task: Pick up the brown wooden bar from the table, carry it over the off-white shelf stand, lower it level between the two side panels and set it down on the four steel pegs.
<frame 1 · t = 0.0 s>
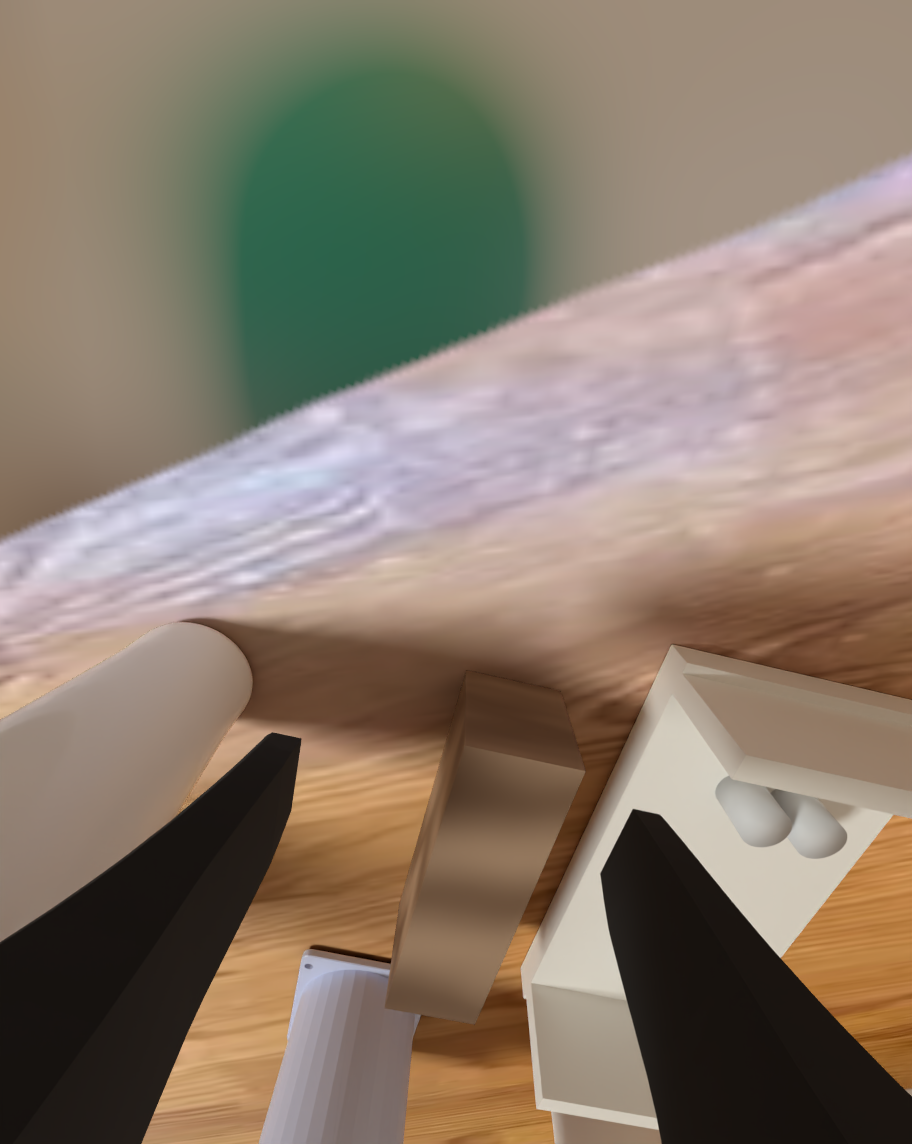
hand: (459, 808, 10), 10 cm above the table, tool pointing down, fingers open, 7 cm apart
cylindrical container: (598, 1060, 31), on the table
shelf stand: (692, 856, 24), on the table
brown wooden bar: (470, 805, 23), on the table
drinking glass: (202, 666, 21), on the table
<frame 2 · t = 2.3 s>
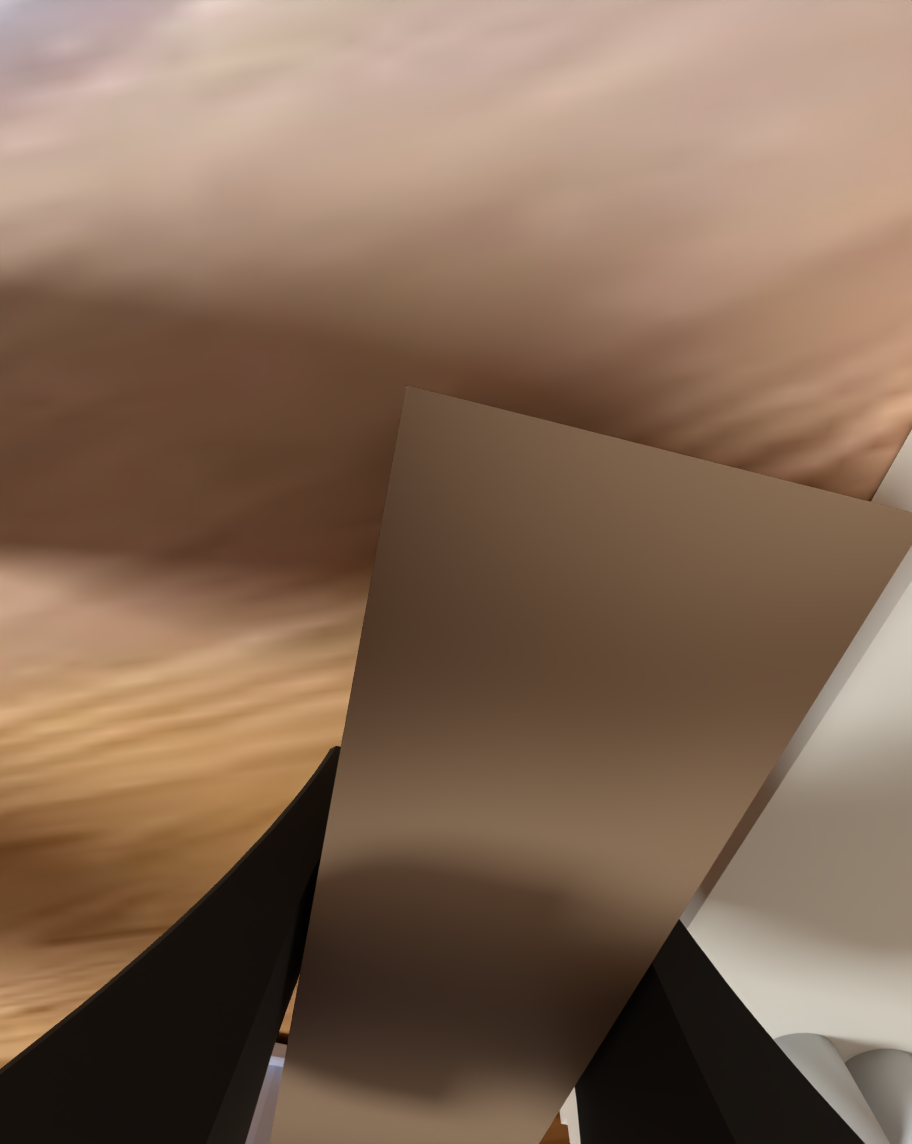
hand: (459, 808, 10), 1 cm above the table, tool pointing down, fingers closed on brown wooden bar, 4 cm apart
brown wooden bar: (459, 758, 11), on the table, touching gripper
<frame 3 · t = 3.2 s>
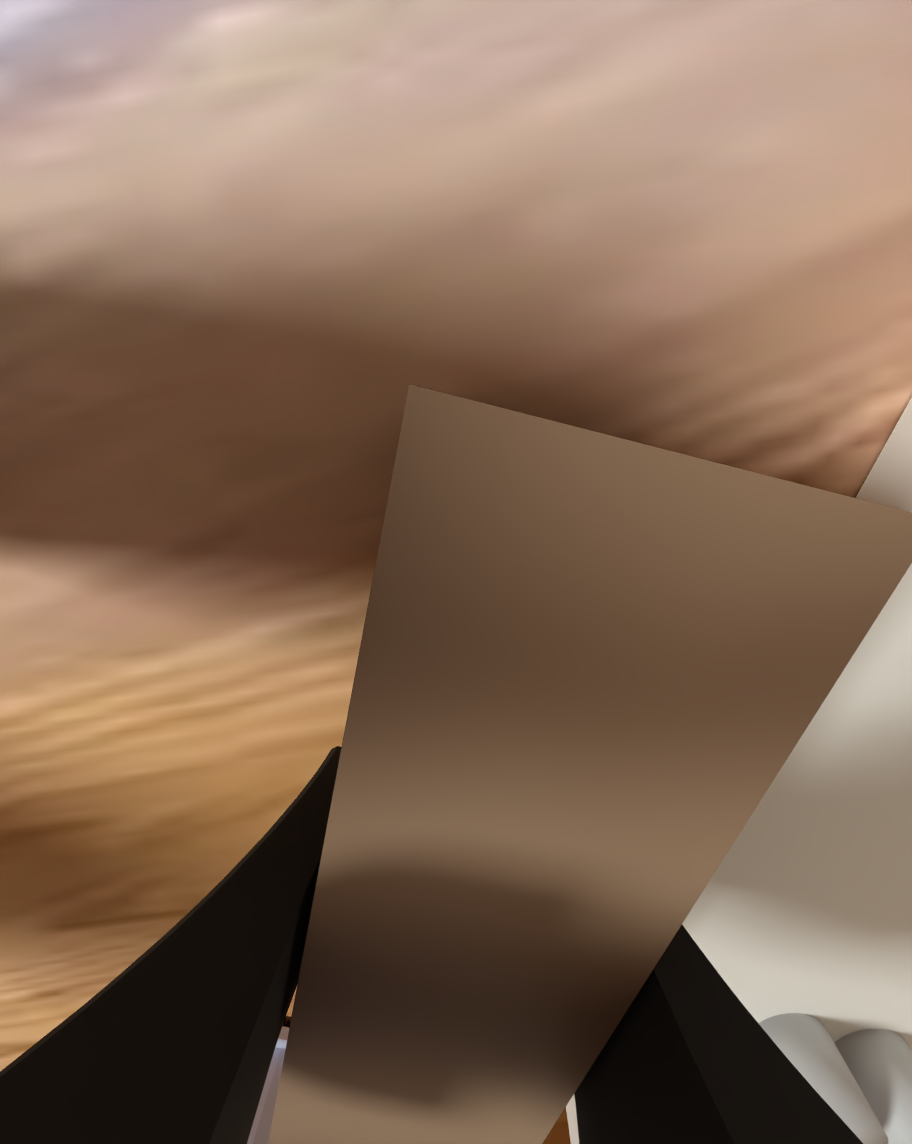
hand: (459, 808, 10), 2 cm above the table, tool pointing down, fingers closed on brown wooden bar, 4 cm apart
shelf stand: (903, 842, 12), on the table
brown wooden bar: (459, 760, 11), on the table, touching gripper
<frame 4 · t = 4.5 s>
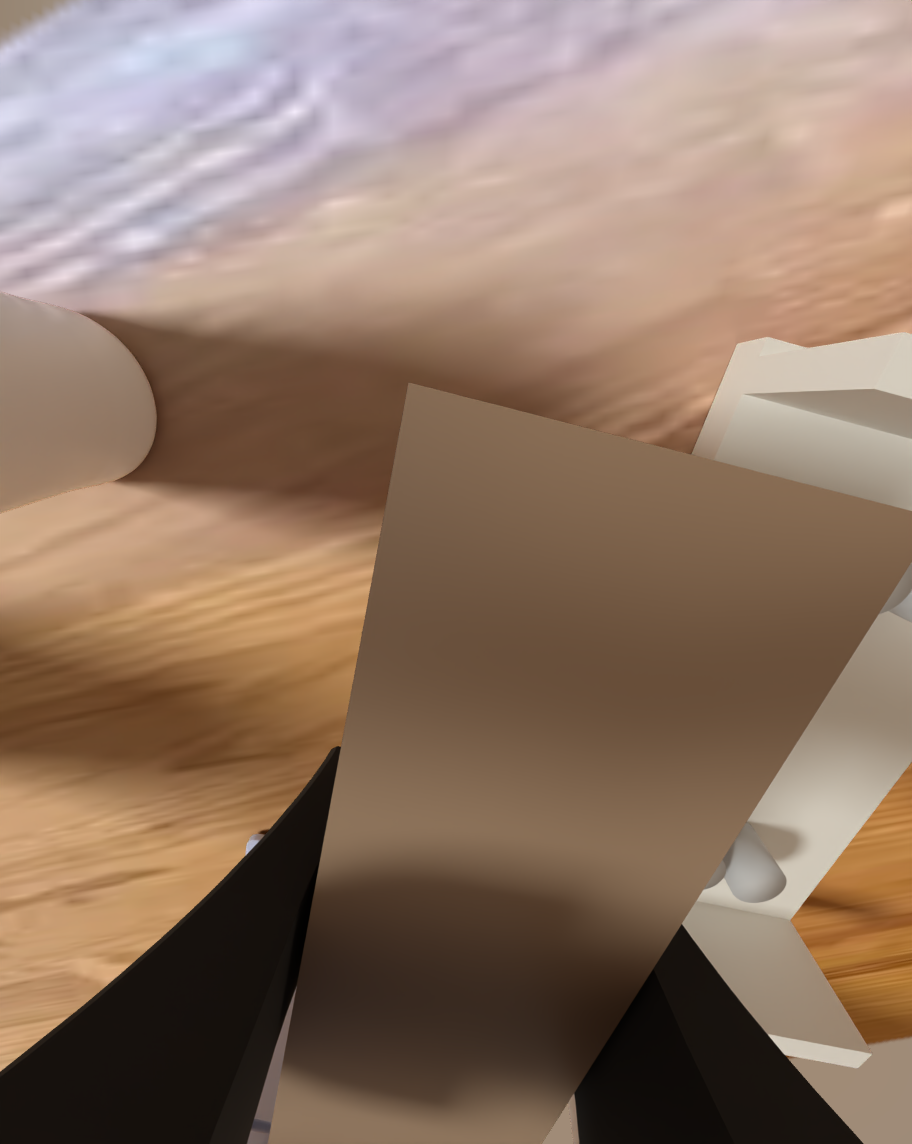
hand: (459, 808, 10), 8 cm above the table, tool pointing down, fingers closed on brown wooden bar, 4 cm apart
cylindrical container: (616, 987, 25), on the table
shelf stand: (748, 692, 18), on the table
brown wooden bar: (459, 759, 11), point 7 cm above the table, touching gripper
drinking glass: (91, 400, 15), on the table
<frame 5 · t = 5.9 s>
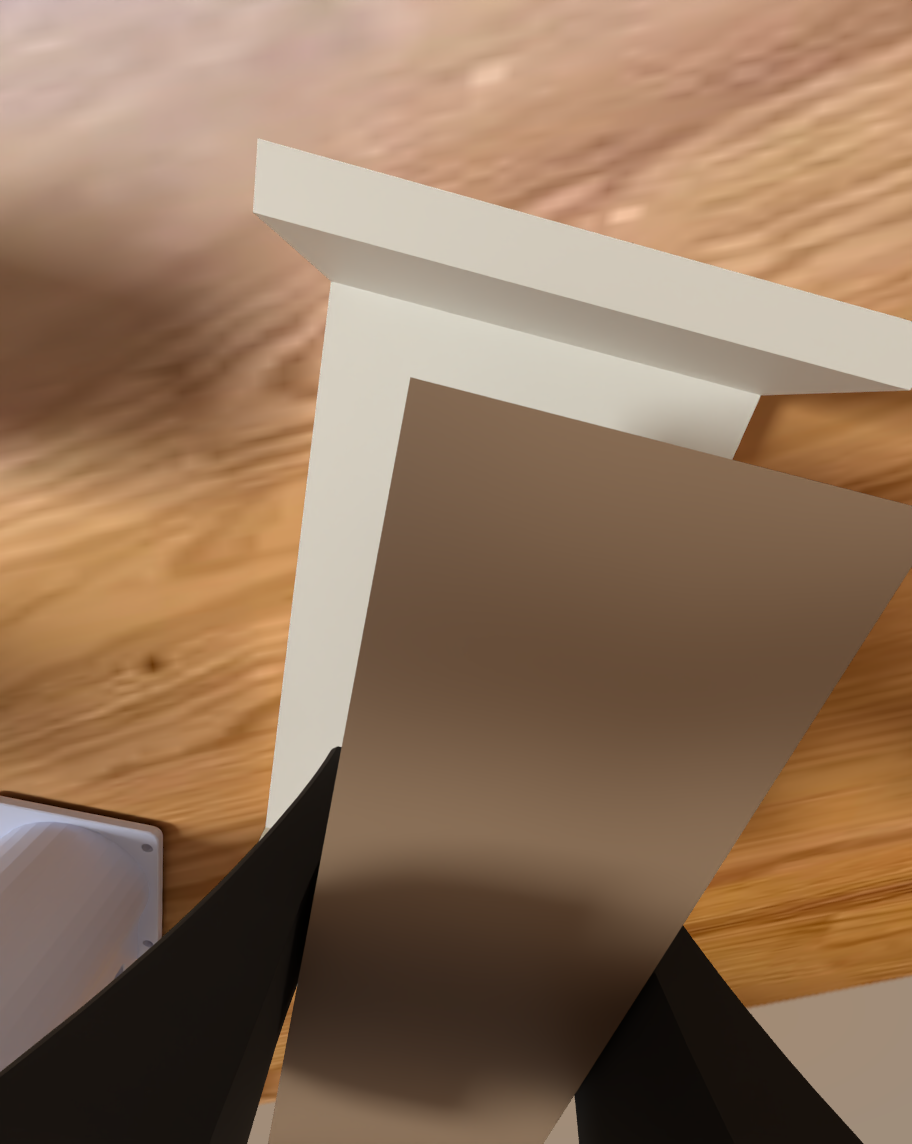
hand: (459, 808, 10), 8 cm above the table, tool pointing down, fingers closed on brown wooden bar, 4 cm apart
shelf stand: (463, 634, 17), on the table
brown wooden bar: (460, 759, 11), point 6 cm above the table, touching gripper
when the fingers open (6 cm above the table, at t = 6.7 s): brown wooden bar stays where it is, resting on shelf stand.
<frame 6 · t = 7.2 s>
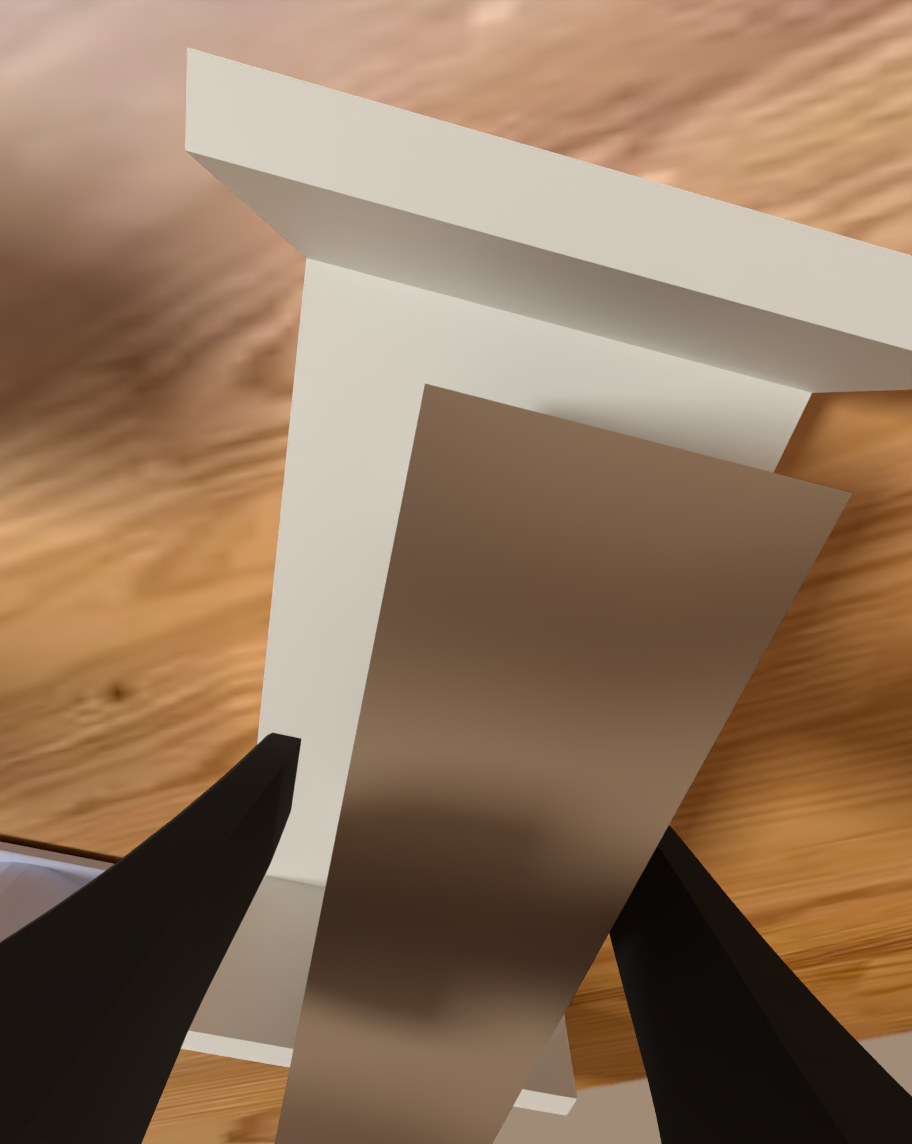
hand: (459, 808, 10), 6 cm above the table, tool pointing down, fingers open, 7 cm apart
shelf stand: (463, 661, 15), on the table
brown wooden bar: (461, 732, 12), point 3 cm above the table, touching shelf stand
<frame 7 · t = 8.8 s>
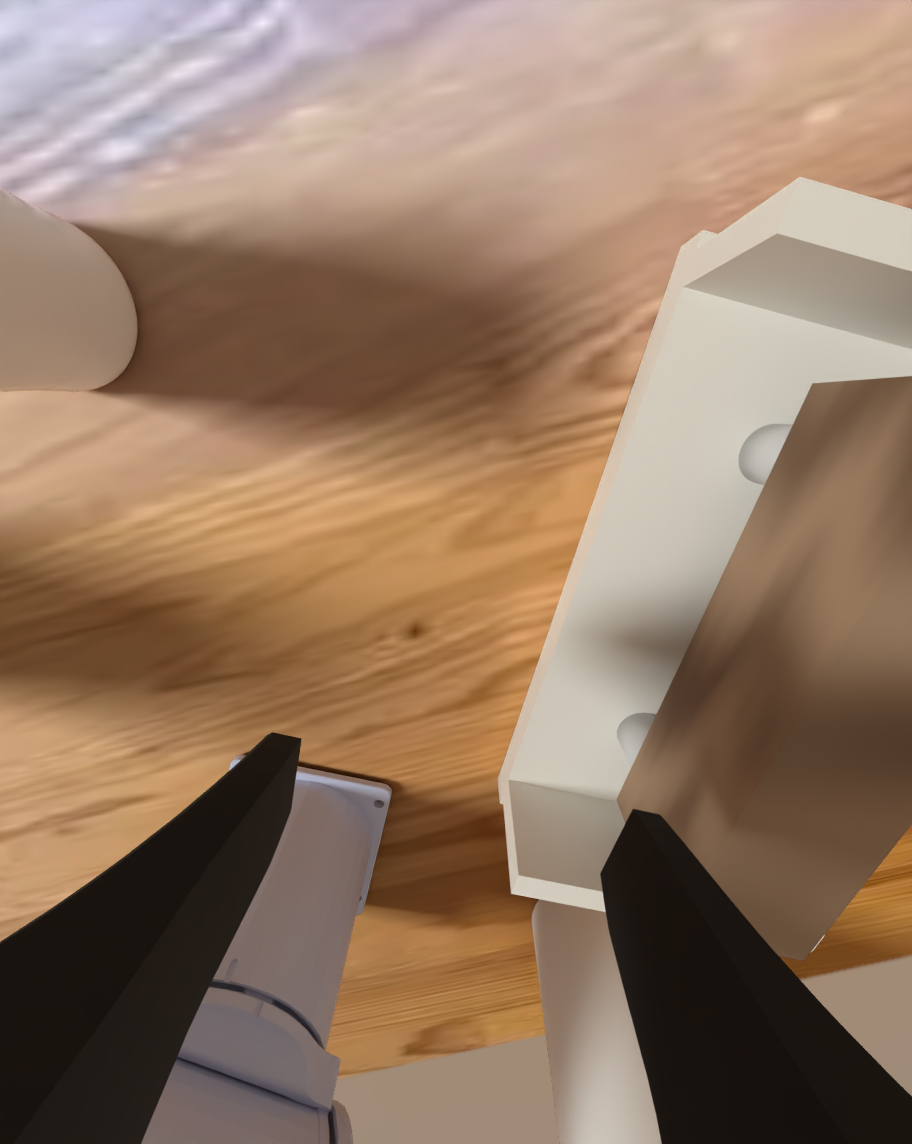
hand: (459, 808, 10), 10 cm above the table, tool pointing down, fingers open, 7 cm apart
cylindrical container: (593, 915, 26), on the table
shelf stand: (706, 600, 19), on the table
brown wooden bar: (757, 641, 16), point 3 cm above the table, touching shelf stand
drinking glass: (75, 312, 16), on the table
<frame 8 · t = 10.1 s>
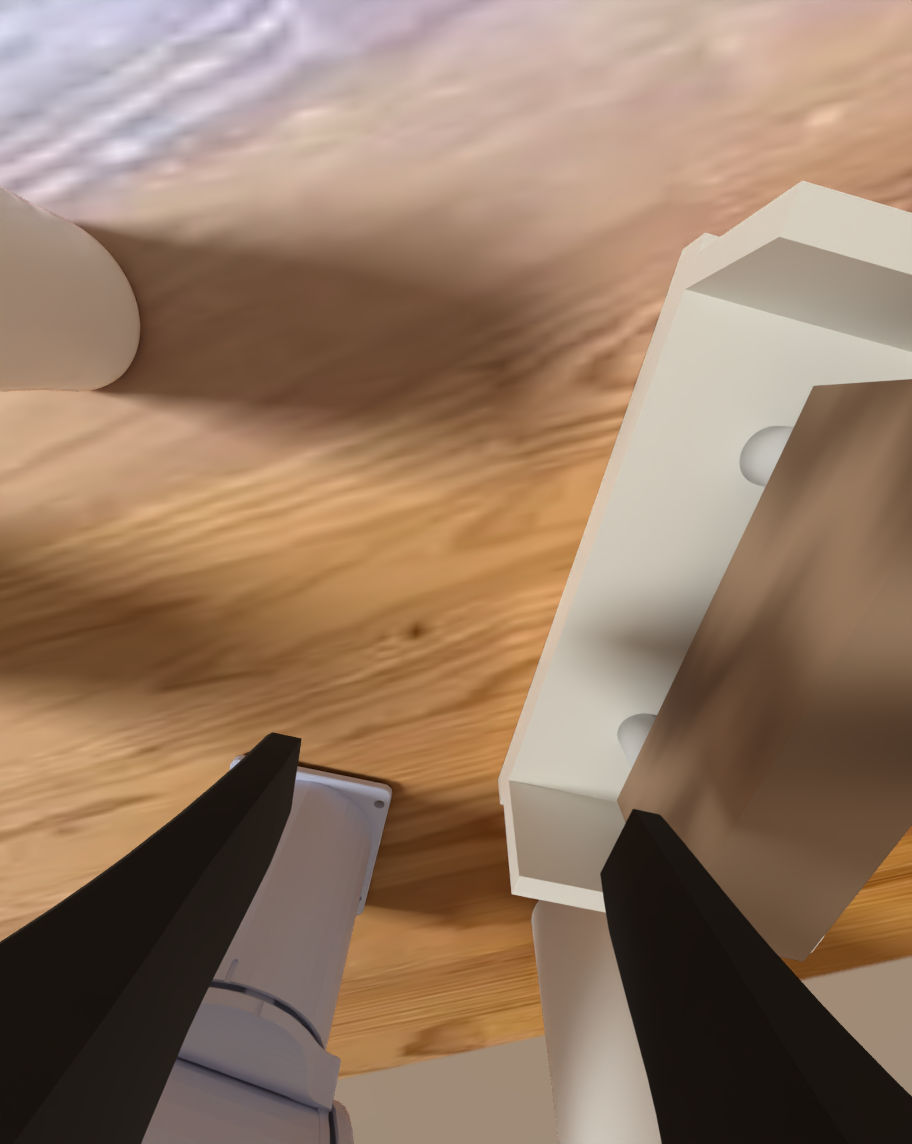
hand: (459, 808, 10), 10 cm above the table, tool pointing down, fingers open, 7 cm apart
cylindrical container: (592, 916, 26), on the table
shelf stand: (707, 601, 19), on the table
brown wooden bar: (757, 642, 16), point 3 cm above the table, touching shelf stand
drinking glass: (78, 312, 16), on the table
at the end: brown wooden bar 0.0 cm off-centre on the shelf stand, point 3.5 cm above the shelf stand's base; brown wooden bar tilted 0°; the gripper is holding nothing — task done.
